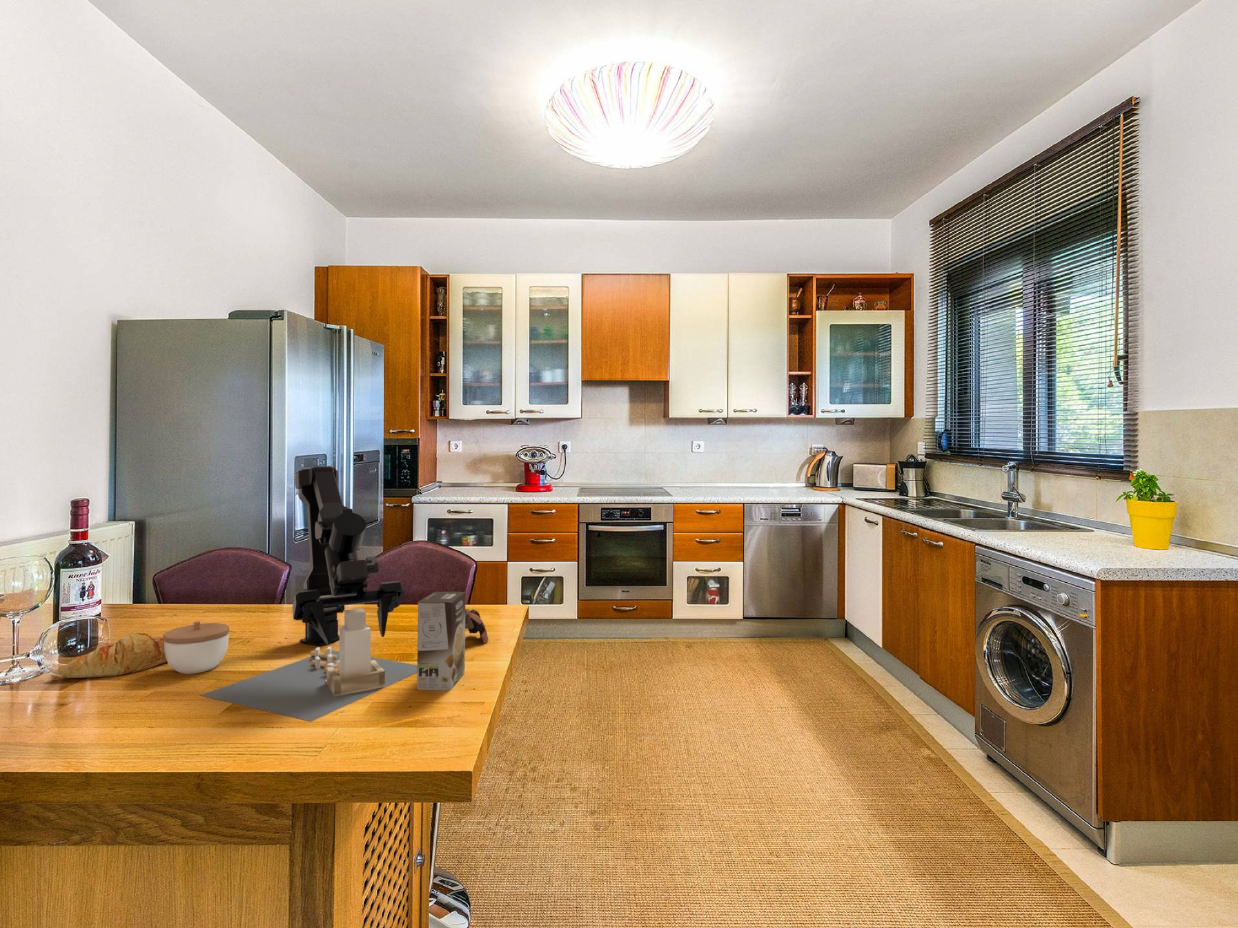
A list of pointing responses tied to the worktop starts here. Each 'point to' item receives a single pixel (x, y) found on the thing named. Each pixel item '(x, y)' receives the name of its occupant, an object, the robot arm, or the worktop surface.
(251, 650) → the worktop surface
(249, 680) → the slate mat
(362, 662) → the white square bottle
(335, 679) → the end holder
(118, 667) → the bread loaf
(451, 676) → the coffee box
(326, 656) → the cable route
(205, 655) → the lidded jar
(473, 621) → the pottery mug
